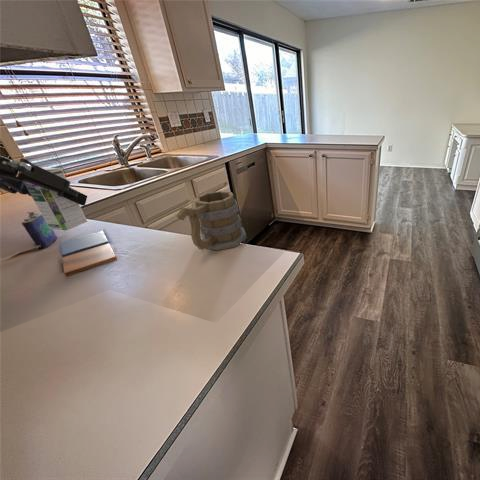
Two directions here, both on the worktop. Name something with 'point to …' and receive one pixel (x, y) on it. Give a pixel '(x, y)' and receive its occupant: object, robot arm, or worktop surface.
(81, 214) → the syrup box
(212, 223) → the tankard
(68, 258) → the amber mat
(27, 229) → the flask
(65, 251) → the slate mat
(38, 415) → the worktop surface
